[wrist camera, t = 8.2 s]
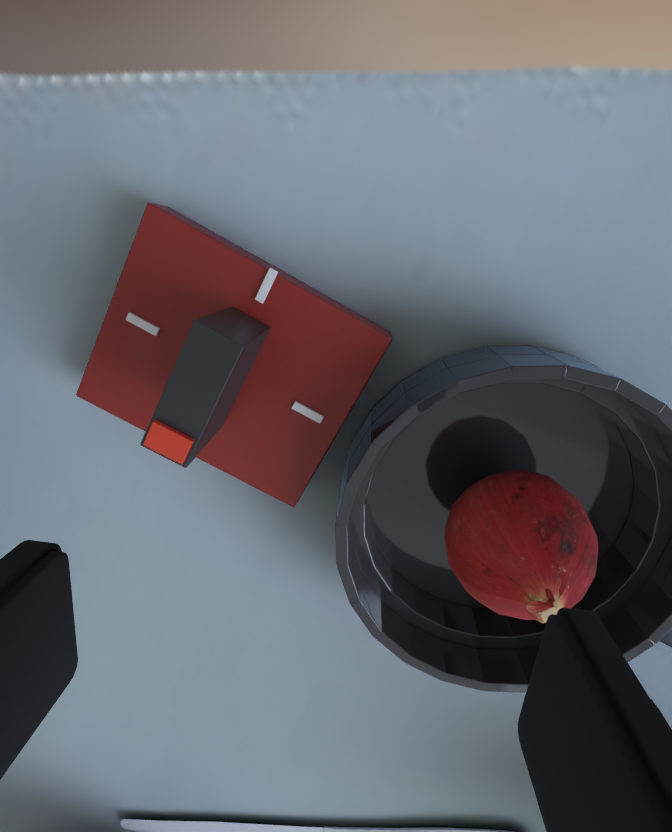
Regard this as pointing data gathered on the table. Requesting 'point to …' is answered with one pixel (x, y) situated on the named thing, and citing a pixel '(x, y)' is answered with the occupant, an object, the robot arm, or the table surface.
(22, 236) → the table surface
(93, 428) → the table surface
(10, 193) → the table surface
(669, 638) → the pan handle
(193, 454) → the red-tipped grey block
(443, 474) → the pan
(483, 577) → the onion
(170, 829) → the butter knife
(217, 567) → the table surface
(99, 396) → the panel
